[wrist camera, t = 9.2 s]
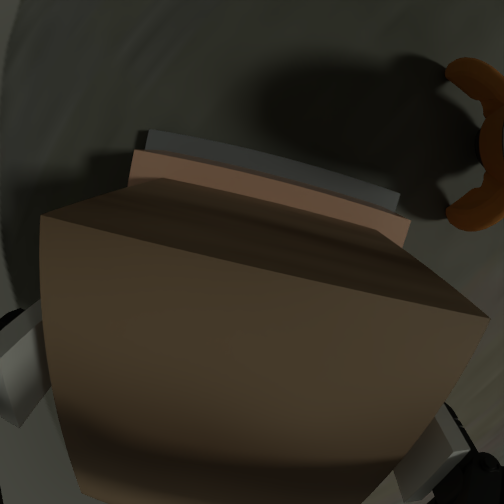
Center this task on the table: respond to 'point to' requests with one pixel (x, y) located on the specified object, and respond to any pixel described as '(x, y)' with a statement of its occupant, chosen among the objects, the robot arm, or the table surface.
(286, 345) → the walnut brick
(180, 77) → the table surface
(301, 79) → the table surface
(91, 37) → the table surface
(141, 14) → the table surface
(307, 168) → the build base
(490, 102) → the toy rocket
